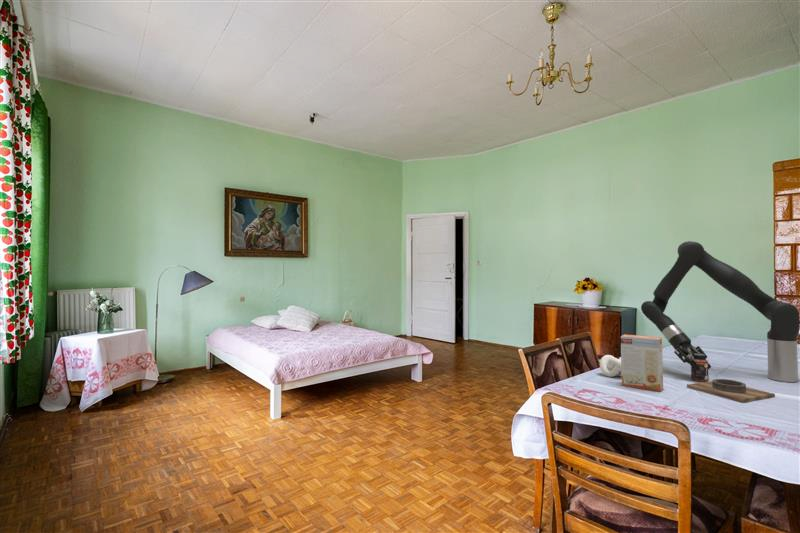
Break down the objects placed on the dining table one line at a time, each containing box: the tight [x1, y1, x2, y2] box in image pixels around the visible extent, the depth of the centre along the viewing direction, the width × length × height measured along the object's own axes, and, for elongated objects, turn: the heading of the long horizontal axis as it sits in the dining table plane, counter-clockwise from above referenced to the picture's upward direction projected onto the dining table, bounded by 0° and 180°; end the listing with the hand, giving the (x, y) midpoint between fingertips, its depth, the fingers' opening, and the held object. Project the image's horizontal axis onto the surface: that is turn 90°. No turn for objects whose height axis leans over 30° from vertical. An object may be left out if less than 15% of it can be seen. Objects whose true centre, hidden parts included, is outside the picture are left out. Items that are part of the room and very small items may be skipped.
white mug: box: [599, 354, 622, 378], centre depth 180 cm, size 11×12×9 cm
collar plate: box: [686, 378, 776, 404], centre depth 156 cm, size 18×20×4 cm
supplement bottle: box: [690, 353, 710, 383], centre depth 172 cm, size 6×6×11 cm
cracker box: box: [620, 333, 664, 392], centre depth 164 cm, size 14×6×21 cm, turn 47°
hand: (703, 368), depth 170 cm, fingers open, 6 cm apart
